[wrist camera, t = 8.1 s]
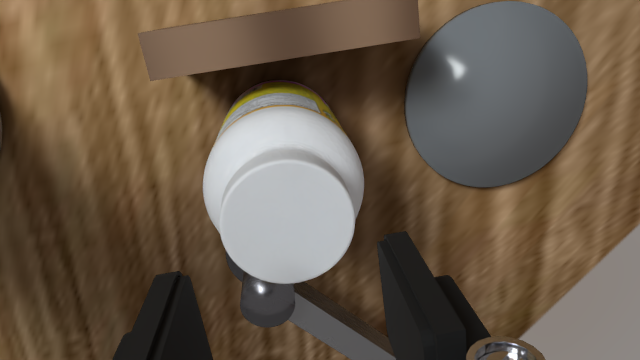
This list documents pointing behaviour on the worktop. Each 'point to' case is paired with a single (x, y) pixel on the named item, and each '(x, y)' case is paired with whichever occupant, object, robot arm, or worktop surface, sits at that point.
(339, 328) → the lever
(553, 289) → the worktop surface
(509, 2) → the coaster
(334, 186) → the supplement bottle
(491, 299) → the worktop surface
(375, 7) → the wooden plank block
